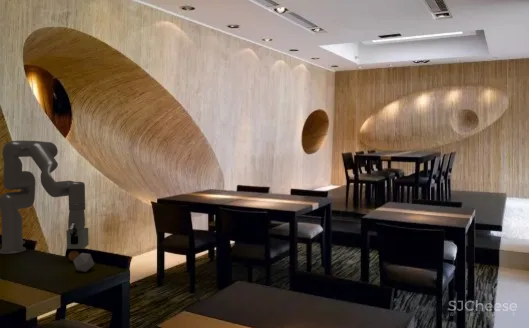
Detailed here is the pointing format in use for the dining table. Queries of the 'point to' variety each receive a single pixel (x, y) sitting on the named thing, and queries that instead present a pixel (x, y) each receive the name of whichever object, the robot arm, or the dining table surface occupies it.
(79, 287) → the dining table surface
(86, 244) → the grey block
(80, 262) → the die
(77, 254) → the ball
